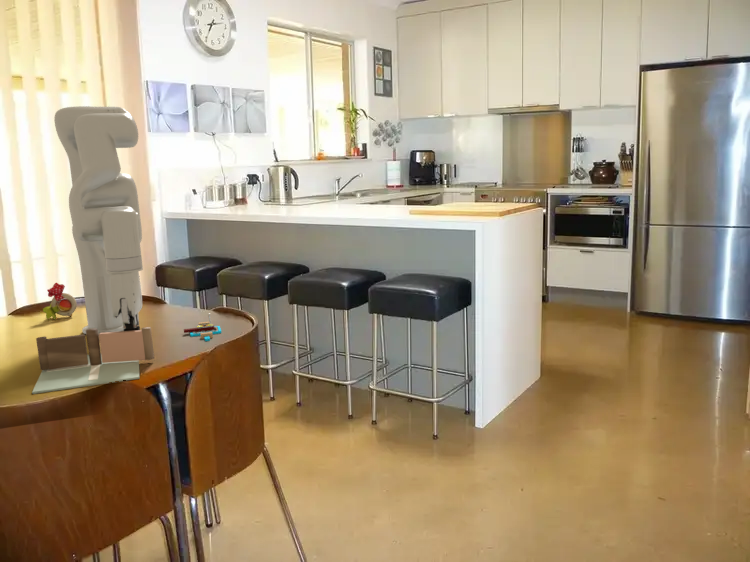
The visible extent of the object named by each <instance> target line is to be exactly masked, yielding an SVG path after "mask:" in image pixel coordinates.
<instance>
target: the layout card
mask: <svg viewBox="0 0 750 562" xmlns="http://www.w3.org/2000/svg"><path fill="white" fill-rule="evenodd" d="M87 356H88V364H87V365H80V366H72V367H65V368H57V369H50V370H41V373H40V375H39V377H38V379H37V381H36V383H35V385H34V387H33V390H32V391H31V392H32V395H35V394H42V393H43V394H44V393H49V392H55V391H57V392H58V391H63V390H70V389H71V390H72V389H77V388H83V387H89V386H96V385H97V386H98V385H104V384H110V383H109V382H112V383H116V382H115V381H119V382H124V381H123V380H126V381H132V380H139V379H140V360H138V361H123V362H108V363H102V364H101V365H94V366H92V365H90V358H89V354H87ZM101 360H102V356H101Z"/></svg>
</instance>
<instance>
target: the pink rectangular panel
mask: <svg viewBox="0 0 750 562" xmlns="http://www.w3.org/2000/svg"><path fill="white" fill-rule="evenodd" d="M98 336H99V344H100V352H101V356H102V363H108V362H123V361H138V360H139V361H149V360H153V359H155V353H154V352H155V351H154V344H153V343H154V342H153V335H152V327H151V326H146V327H142V328H141V329H140V330H136V331H120V332H105V333H100V334H99V335H98Z"/></svg>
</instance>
